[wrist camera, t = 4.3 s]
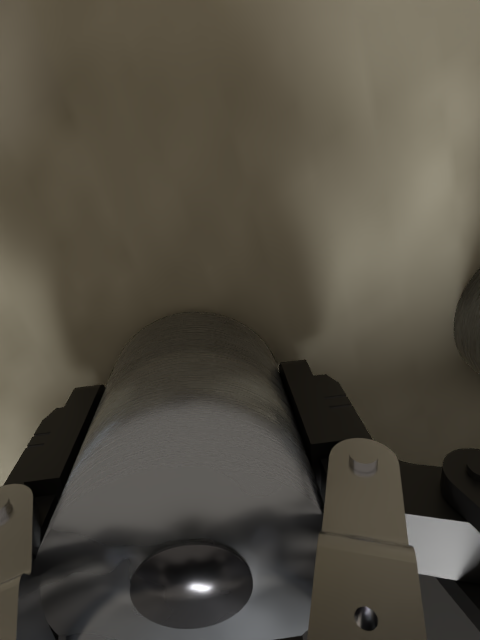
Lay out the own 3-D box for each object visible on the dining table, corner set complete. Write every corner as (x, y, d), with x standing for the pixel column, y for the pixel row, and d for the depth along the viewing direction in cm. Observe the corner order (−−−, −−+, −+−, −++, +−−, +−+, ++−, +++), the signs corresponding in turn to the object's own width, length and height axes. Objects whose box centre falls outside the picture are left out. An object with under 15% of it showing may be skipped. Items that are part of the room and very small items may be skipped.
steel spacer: (274, 302, 11) (343, 449, 6) (283, 444, 13) (341, 657, 8) (94, 323, 11) (-15, 496, 5) (130, 464, 13) (76, 698, 7)
